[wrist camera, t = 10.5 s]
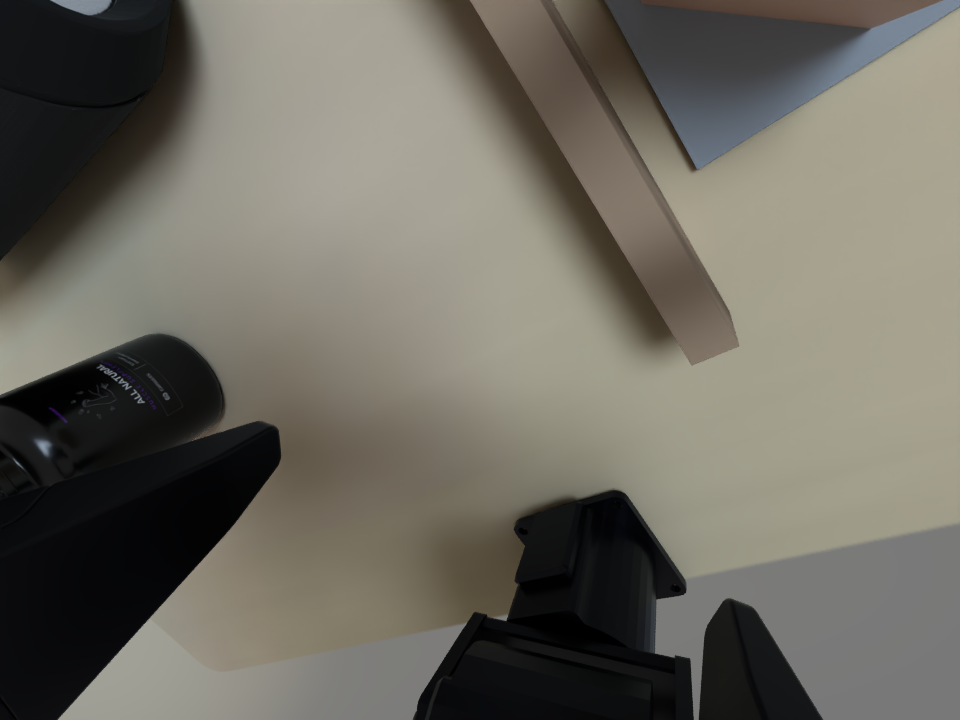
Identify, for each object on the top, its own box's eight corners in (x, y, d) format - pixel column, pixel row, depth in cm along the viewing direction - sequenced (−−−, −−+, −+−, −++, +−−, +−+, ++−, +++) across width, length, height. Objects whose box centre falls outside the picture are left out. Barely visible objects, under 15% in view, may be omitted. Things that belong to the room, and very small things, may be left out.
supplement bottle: (211, 338, 27) (-54, 470, 17) (238, 433, 31) (29, 591, 21) (124, 321, 29) (-156, 431, 19) (159, 413, 33) (-66, 547, 23)
